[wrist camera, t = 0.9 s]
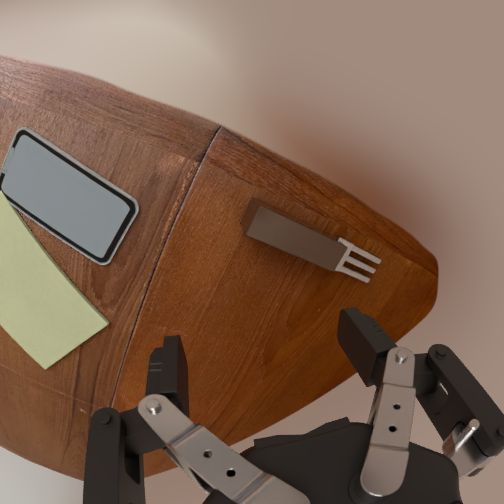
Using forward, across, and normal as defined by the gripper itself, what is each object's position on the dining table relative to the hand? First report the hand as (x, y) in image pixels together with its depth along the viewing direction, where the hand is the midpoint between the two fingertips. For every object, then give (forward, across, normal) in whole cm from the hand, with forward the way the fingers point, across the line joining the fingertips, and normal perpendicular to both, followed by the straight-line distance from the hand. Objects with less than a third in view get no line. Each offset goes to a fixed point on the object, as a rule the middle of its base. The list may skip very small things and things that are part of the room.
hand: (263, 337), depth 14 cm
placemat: (+14, +24, +3) cm, 28 cm away
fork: (+14, -8, +1) cm, 16 cm away
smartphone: (+14, +15, -6) cm, 22 cm away
